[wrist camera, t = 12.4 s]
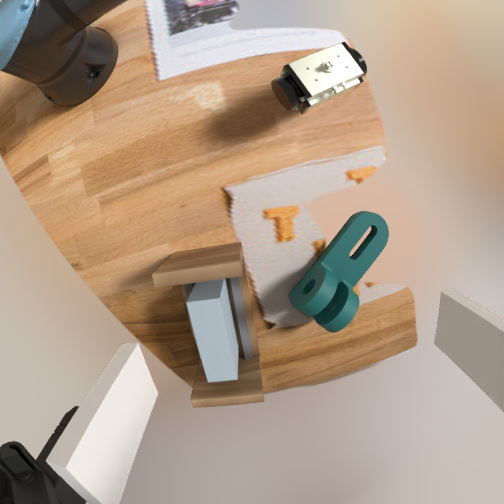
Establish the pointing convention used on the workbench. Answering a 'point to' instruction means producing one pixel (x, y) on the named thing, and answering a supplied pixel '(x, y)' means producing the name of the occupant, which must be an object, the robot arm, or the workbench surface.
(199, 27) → the workbench surface
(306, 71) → the pneumatic valve
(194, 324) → the door panel
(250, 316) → the track
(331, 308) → the bracket
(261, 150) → the workbench surface
